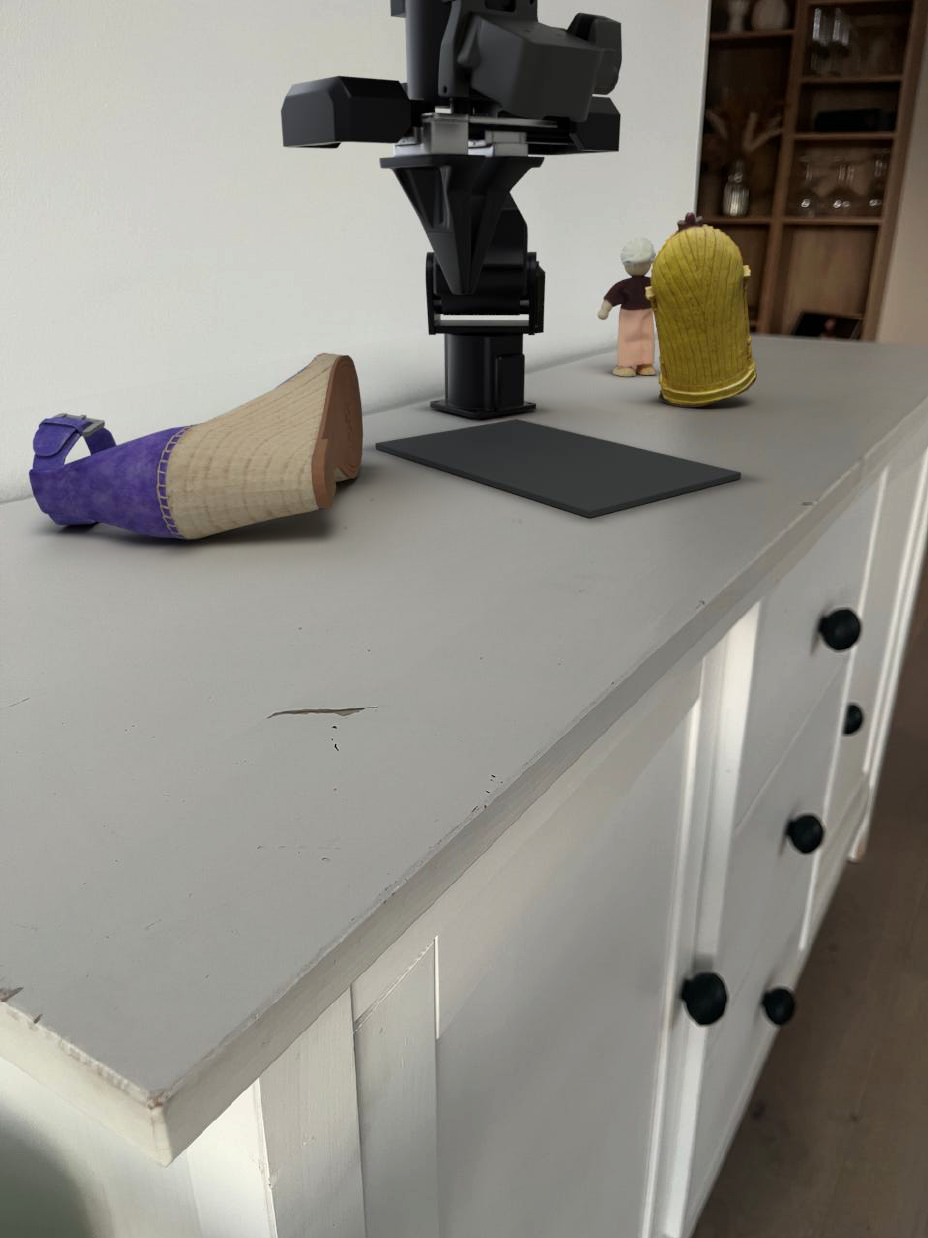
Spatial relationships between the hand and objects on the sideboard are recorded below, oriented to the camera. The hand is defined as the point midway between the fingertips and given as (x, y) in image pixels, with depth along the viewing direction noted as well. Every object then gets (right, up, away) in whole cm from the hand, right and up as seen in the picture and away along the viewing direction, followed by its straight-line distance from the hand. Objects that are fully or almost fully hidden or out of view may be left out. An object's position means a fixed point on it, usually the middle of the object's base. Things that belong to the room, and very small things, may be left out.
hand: (462, 293), depth 55 cm
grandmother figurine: (+17, +6, +42) cm, 45 cm away
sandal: (-6, -8, 0) cm, 10 cm away
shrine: (+20, -1, +27) cm, 33 cm away
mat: (+5, -8, +9) cm, 13 cm away
